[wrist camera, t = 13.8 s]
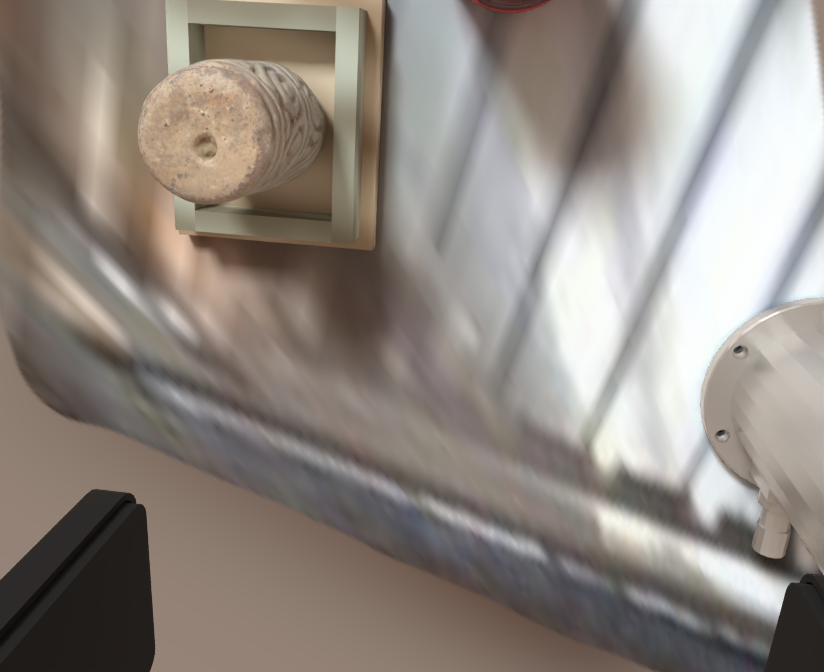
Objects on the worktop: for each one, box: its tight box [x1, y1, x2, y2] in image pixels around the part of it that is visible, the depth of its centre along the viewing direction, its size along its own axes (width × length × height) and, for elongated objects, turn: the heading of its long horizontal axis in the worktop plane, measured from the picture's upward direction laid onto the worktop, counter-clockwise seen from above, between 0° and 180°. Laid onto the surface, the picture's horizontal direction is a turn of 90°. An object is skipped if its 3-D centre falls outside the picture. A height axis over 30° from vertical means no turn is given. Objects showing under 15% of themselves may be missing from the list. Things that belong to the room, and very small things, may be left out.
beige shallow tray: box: [165, 0, 386, 250], centre depth 43 cm, size 14×12×4 cm
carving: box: [138, 59, 326, 204], centre depth 38 cm, size 6×8×12 cm
